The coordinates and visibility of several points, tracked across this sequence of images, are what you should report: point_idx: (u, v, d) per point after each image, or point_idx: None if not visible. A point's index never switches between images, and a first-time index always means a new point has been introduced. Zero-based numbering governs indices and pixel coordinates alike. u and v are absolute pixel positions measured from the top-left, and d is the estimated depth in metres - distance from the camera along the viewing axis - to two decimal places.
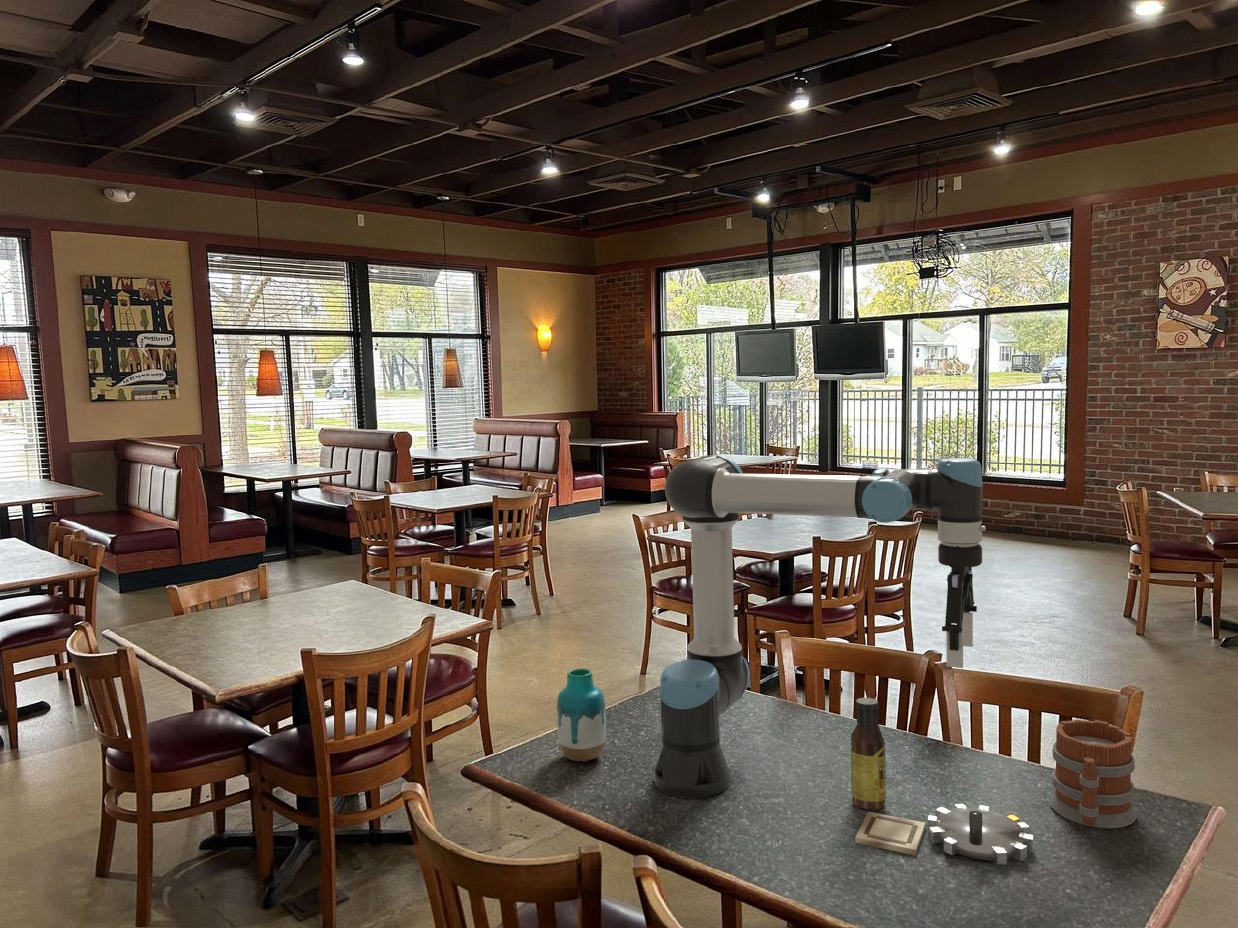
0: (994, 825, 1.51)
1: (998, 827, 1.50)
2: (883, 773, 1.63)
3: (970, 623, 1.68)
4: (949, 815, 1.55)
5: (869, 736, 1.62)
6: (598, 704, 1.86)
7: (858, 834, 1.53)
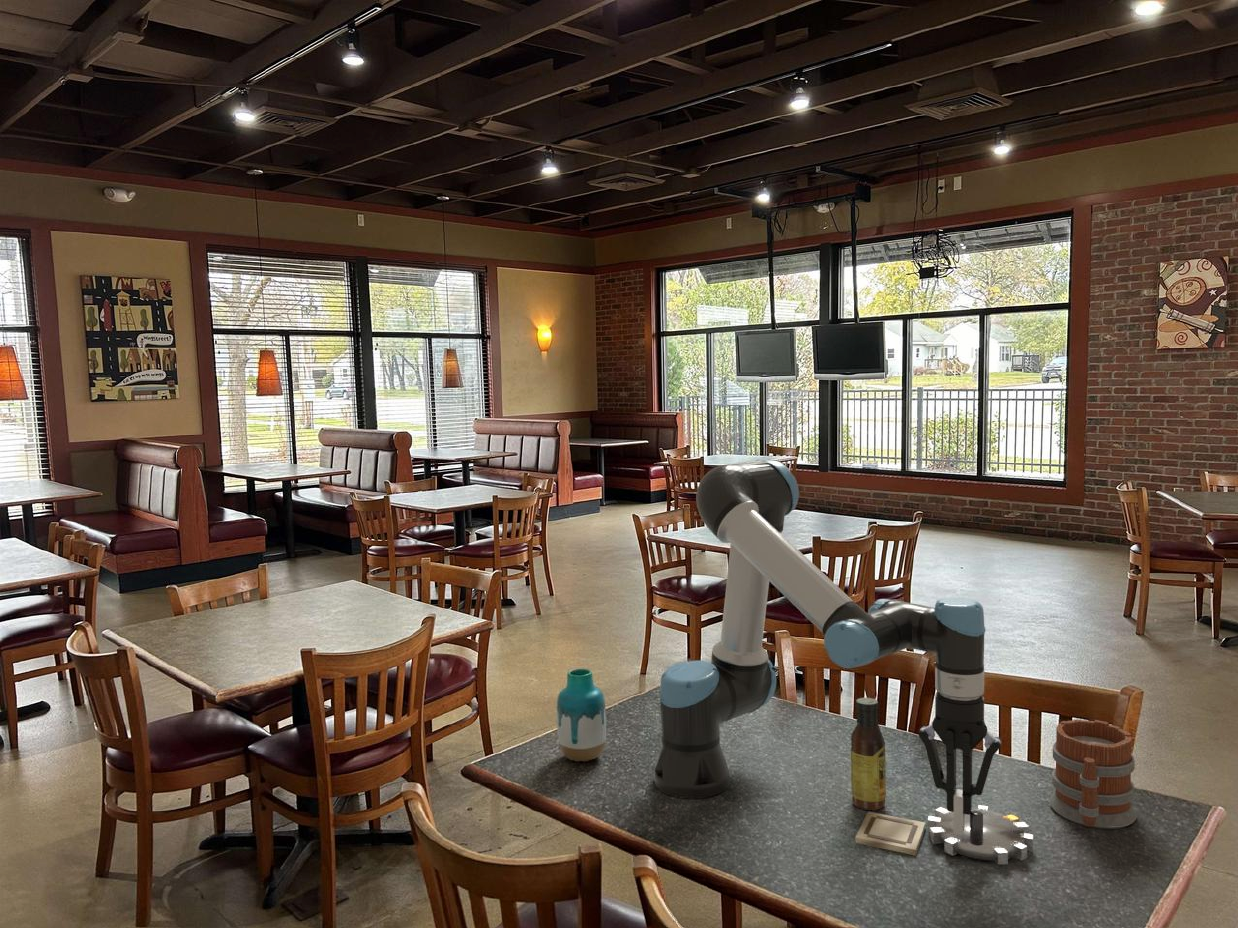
0: (994, 825, 1.51)
1: (997, 827, 1.50)
2: (883, 773, 1.63)
3: None
4: (949, 815, 1.55)
5: (869, 736, 1.62)
6: (598, 704, 1.86)
7: (858, 834, 1.53)
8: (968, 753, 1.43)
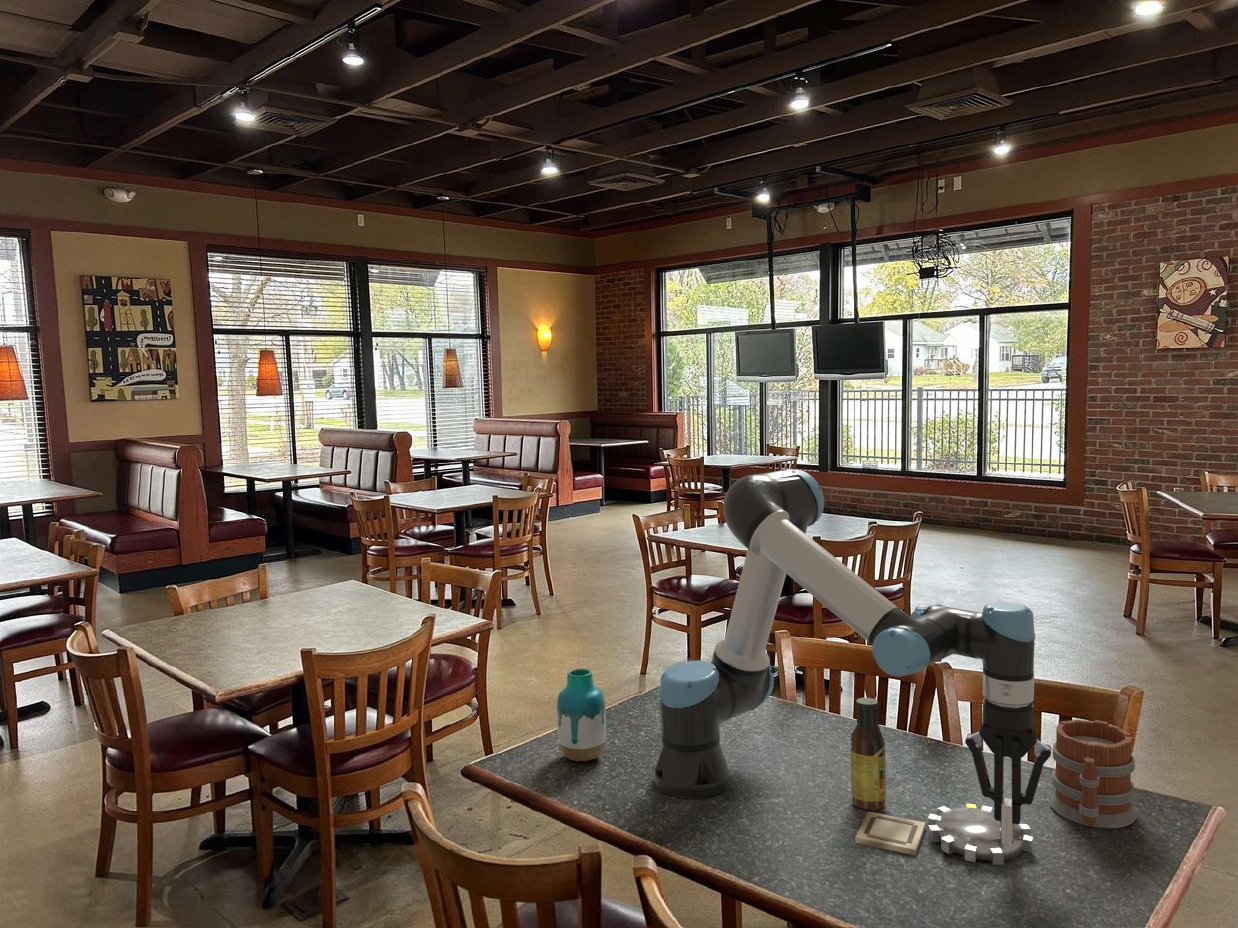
0: (980, 819, 1.53)
1: (985, 819, 1.53)
2: (883, 773, 1.63)
3: None
4: (948, 829, 1.50)
5: (869, 736, 1.62)
6: (598, 704, 1.86)
7: (858, 834, 1.53)
8: (1017, 761, 1.40)
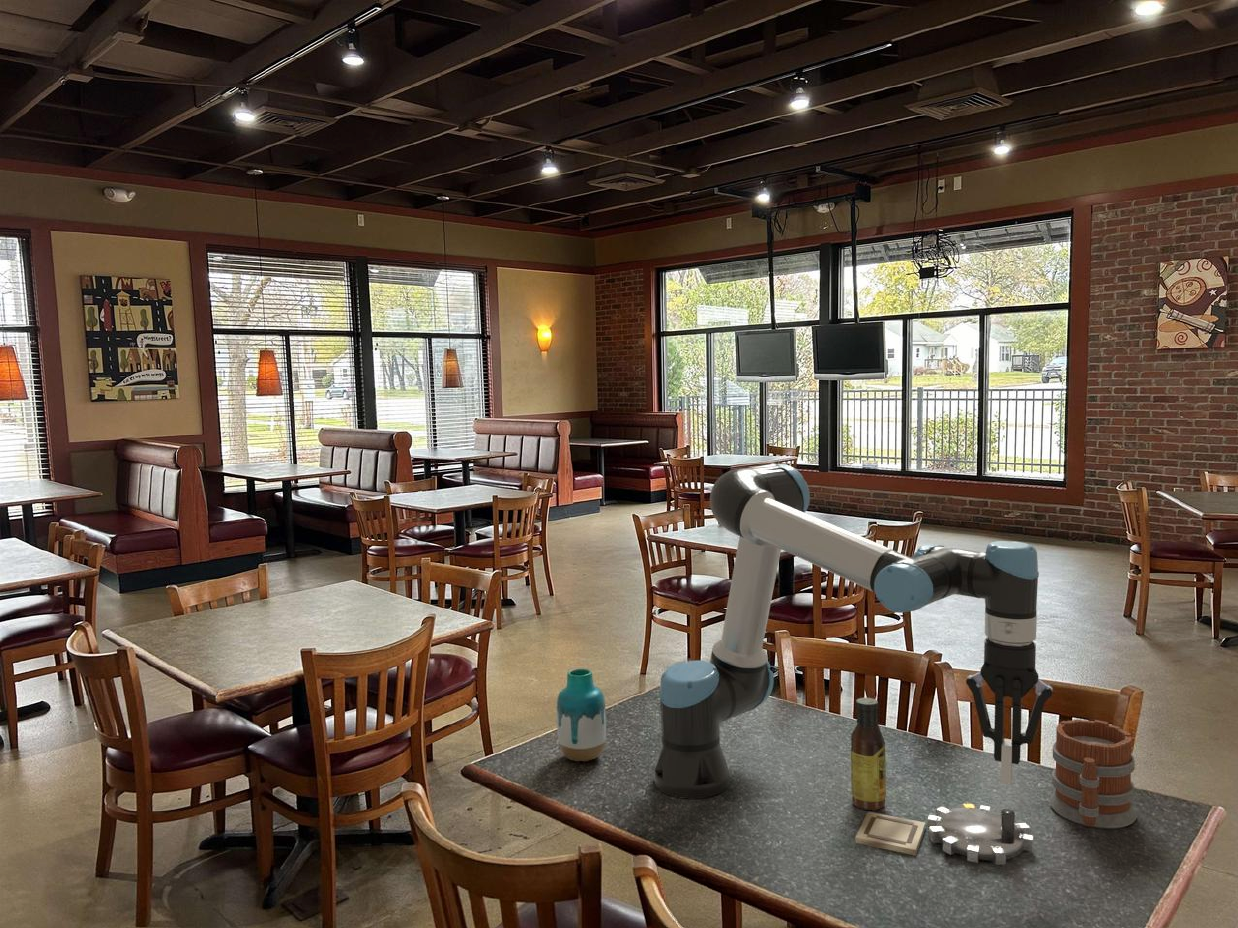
0: (979, 819, 1.53)
1: (984, 819, 1.53)
2: (883, 773, 1.63)
3: None
4: (948, 830, 1.50)
5: (869, 736, 1.62)
6: (598, 704, 1.86)
7: (858, 834, 1.53)
8: (1018, 700, 1.39)
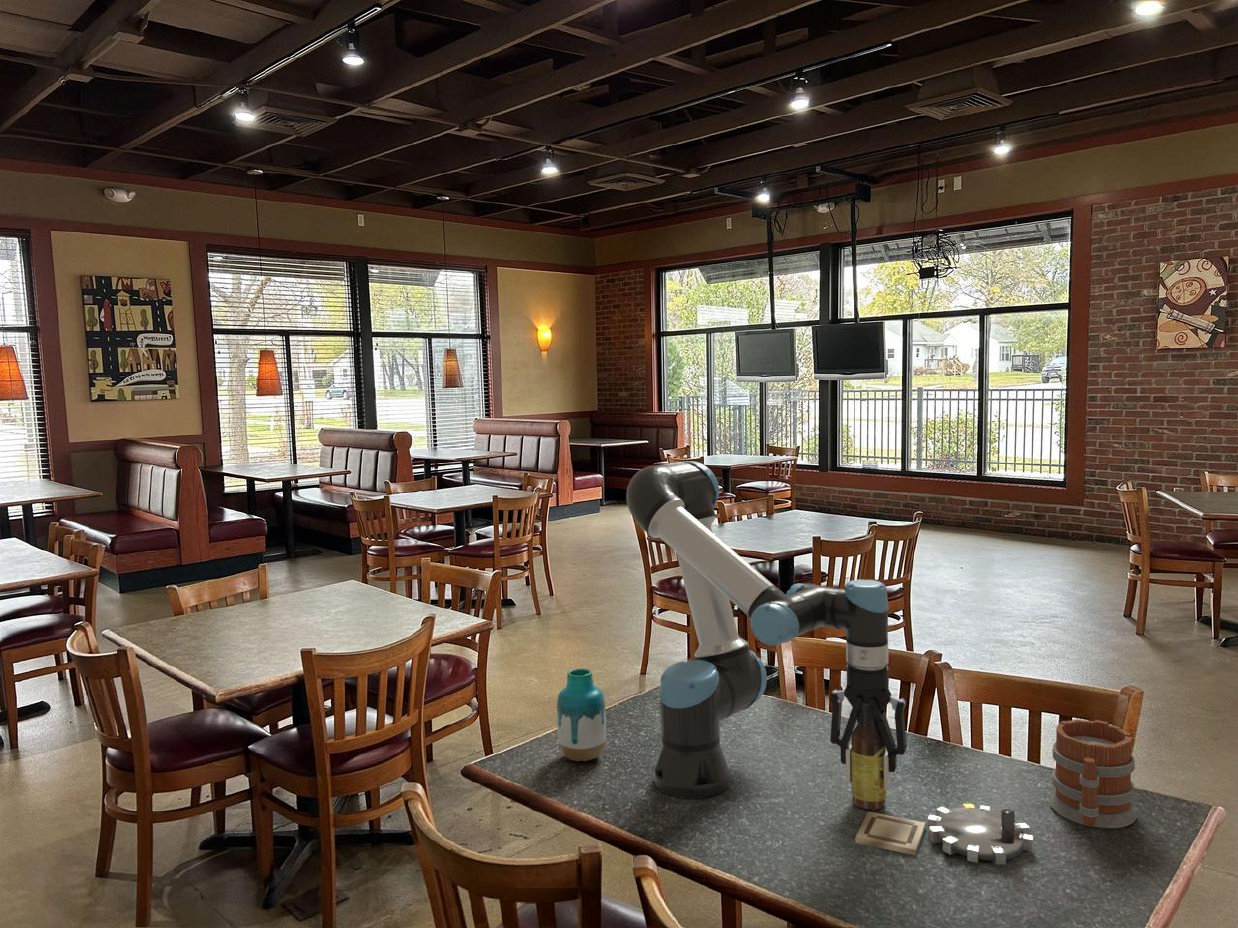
0: (979, 819, 1.53)
1: (984, 819, 1.53)
2: (883, 773, 1.63)
3: None
4: (948, 830, 1.50)
5: (869, 736, 1.62)
6: (598, 704, 1.86)
7: (858, 834, 1.53)
8: (879, 716, 1.61)
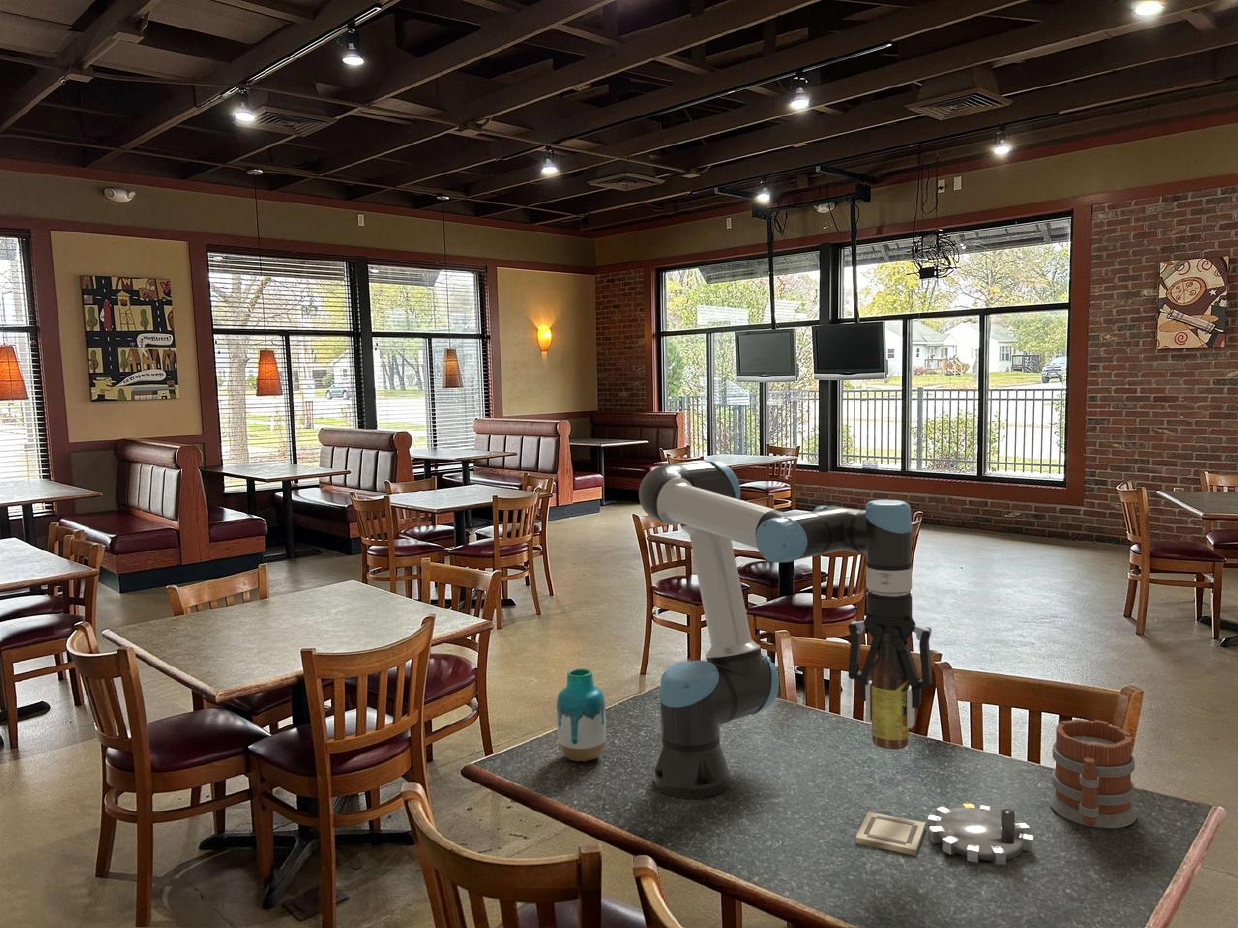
0: (979, 819, 1.53)
1: (984, 819, 1.53)
2: (906, 709, 1.50)
3: None
4: (948, 830, 1.50)
5: (891, 668, 1.49)
6: (598, 704, 1.86)
7: (858, 834, 1.53)
8: (902, 647, 1.48)
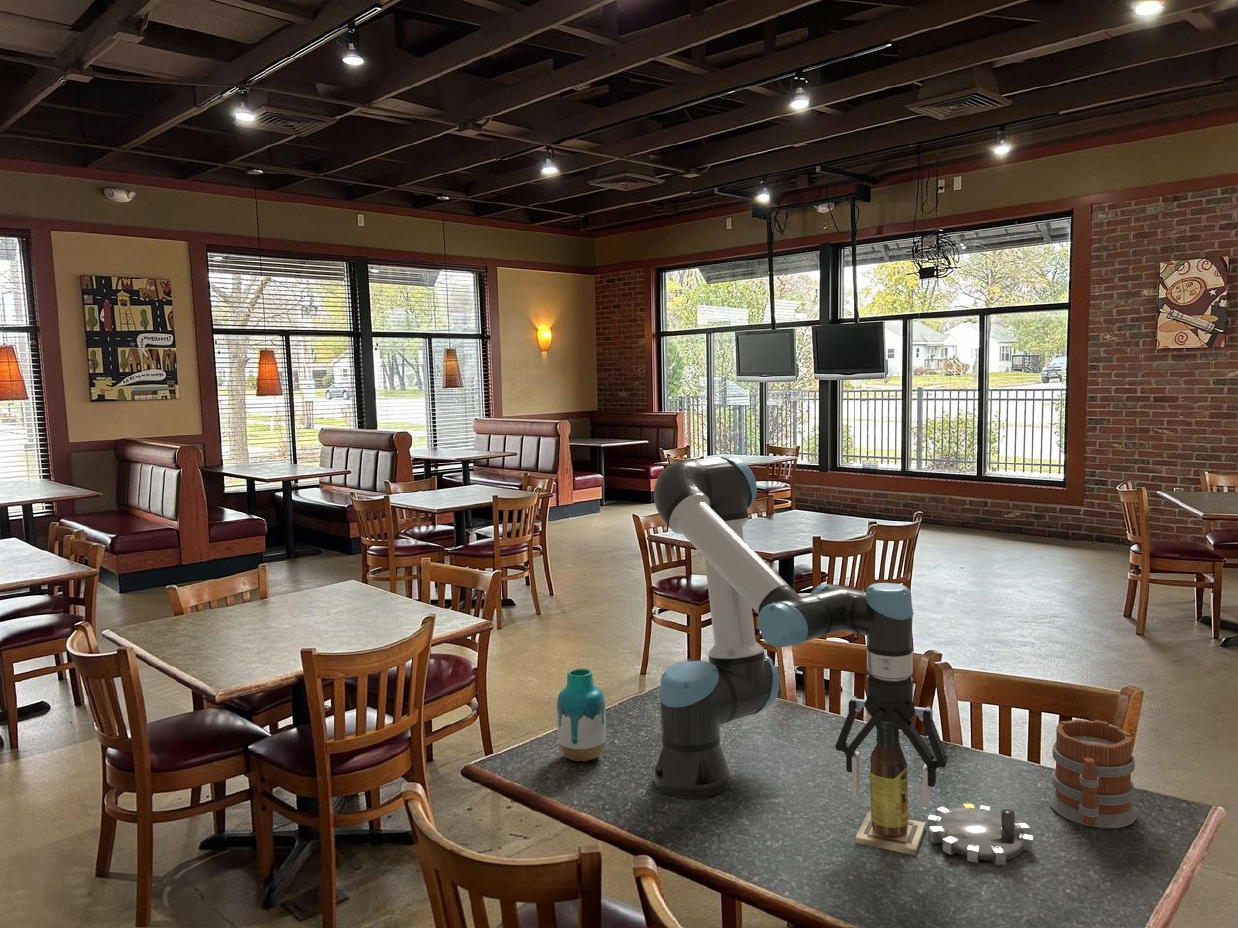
0: (979, 819, 1.53)
1: (984, 819, 1.53)
2: (905, 797, 1.51)
3: (923, 779, 1.49)
4: (948, 830, 1.50)
5: (890, 757, 1.50)
6: (598, 704, 1.86)
7: (858, 834, 1.53)
8: (907, 729, 1.49)
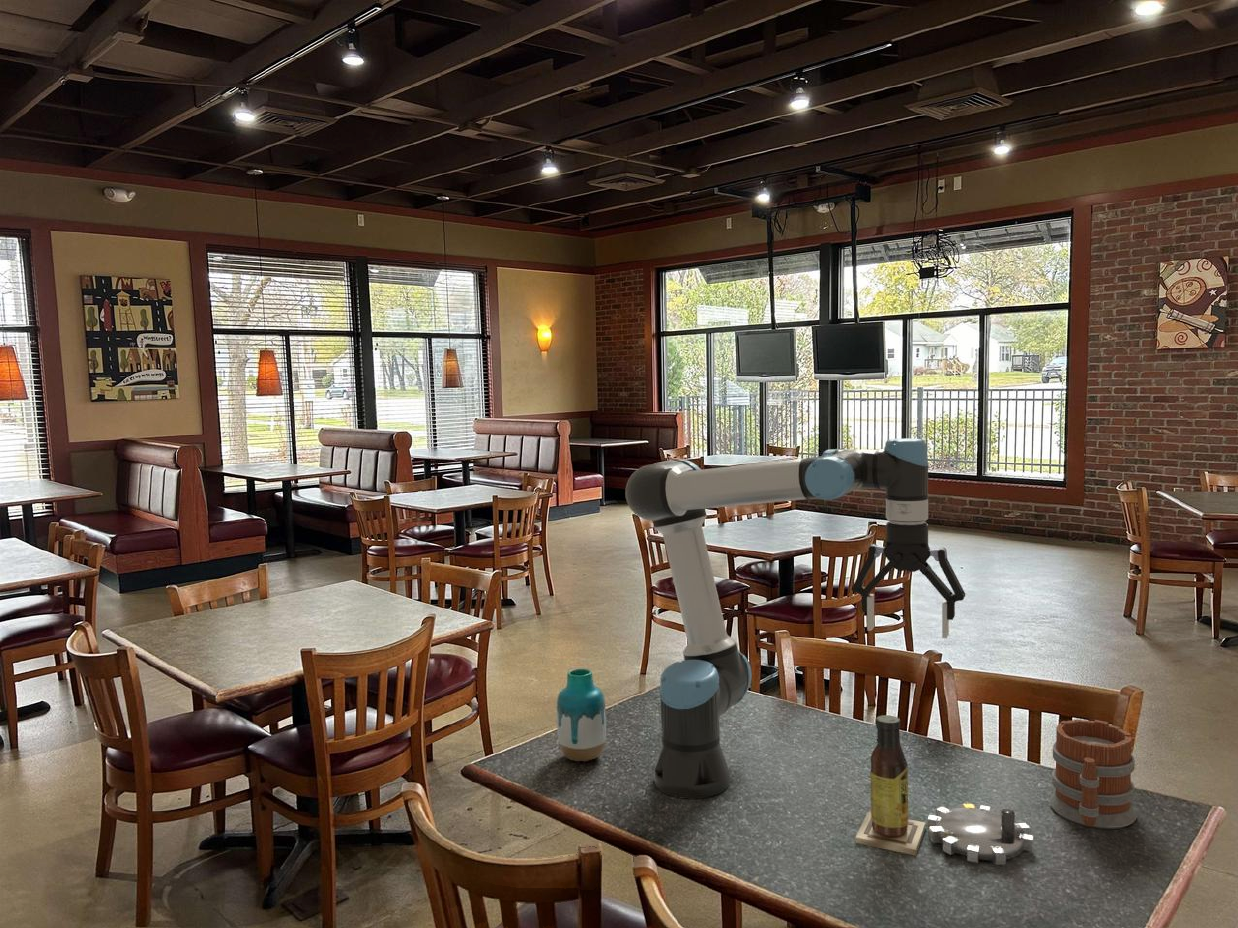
0: (979, 819, 1.53)
1: (984, 819, 1.53)
2: (906, 797, 1.51)
3: None
4: (948, 830, 1.50)
5: (890, 757, 1.50)
6: (598, 704, 1.86)
7: (858, 834, 1.53)
8: (924, 568, 1.62)
